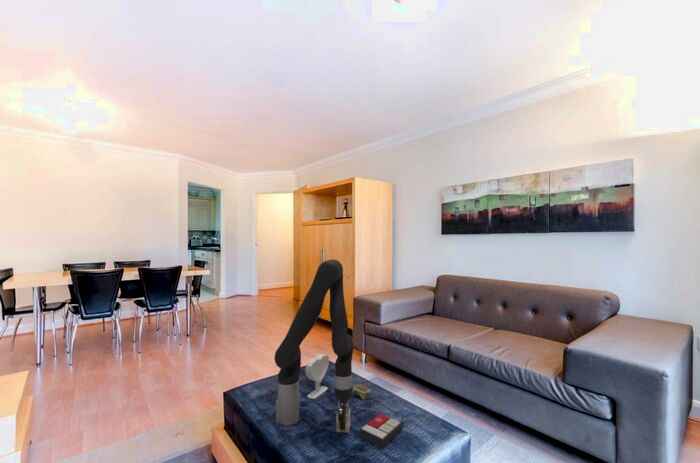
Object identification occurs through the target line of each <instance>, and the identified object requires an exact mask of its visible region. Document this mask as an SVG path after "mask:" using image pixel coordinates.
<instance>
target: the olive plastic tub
mask: <svg viewBox="0 0 700 463" xmlns="http://www.w3.org/2000/svg"><path fill="white" fill-rule="evenodd" d="M352 390H354V396H358V397H360V398H361V399H362V400H363V401H364V400H369V393H370V392H371V390H372V389H369V388H368V386H367V385H364V384H360V383H356V384H352Z"/></svg>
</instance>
